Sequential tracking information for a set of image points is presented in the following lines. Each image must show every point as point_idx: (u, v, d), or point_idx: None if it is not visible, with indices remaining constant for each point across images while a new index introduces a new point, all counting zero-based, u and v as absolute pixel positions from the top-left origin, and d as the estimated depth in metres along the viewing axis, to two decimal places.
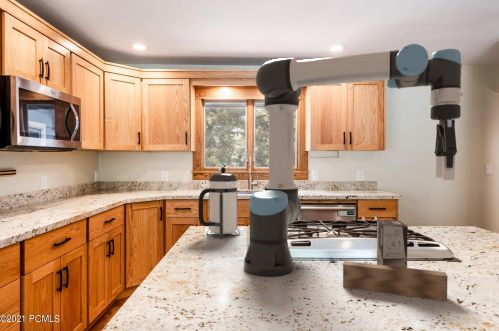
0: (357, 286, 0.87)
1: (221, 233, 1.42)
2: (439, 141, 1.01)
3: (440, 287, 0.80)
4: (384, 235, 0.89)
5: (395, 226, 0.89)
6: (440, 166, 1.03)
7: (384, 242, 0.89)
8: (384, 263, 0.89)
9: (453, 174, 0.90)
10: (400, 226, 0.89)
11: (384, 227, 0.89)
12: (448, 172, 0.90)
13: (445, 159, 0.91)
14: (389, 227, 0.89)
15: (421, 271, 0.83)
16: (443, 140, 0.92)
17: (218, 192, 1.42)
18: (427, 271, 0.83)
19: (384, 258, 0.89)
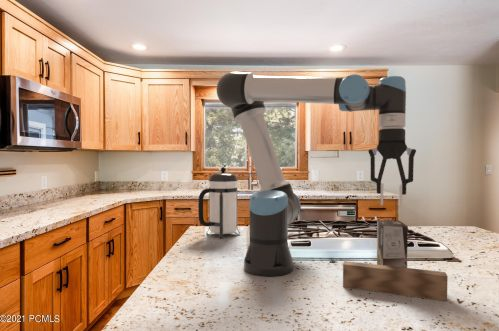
0: (357, 286, 0.87)
1: (221, 233, 1.42)
2: (397, 164, 1.02)
3: (440, 287, 0.80)
4: (384, 235, 0.89)
5: (395, 226, 0.89)
6: None
7: (384, 242, 0.89)
8: (384, 263, 0.89)
9: None
10: (400, 226, 0.89)
11: (384, 227, 0.89)
12: None
13: None
14: (389, 227, 0.89)
15: (421, 271, 0.83)
16: None
17: (218, 192, 1.42)
18: (427, 271, 0.83)
19: (384, 258, 0.89)
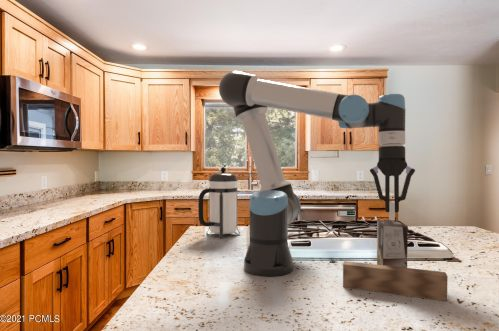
0: (357, 286, 0.87)
1: (221, 233, 1.42)
2: None
3: (440, 287, 0.80)
4: (384, 235, 0.89)
5: (395, 226, 0.89)
6: None
7: (384, 242, 0.89)
8: (384, 263, 0.89)
9: (389, 218, 1.02)
10: (400, 226, 0.89)
11: (384, 227, 0.89)
12: None
13: None
14: (389, 227, 0.89)
15: (421, 271, 0.83)
16: None
17: (218, 192, 1.42)
18: (427, 271, 0.83)
19: (384, 258, 0.89)
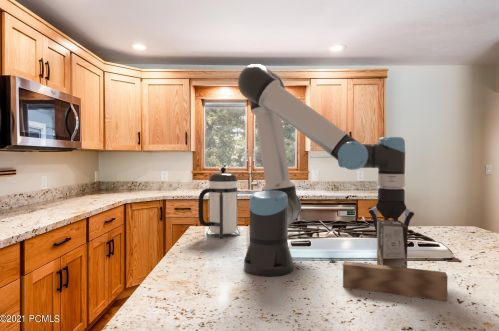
0: (357, 286, 0.87)
1: (221, 233, 1.42)
2: None
3: (440, 287, 0.80)
4: (384, 235, 0.89)
5: (395, 226, 0.89)
6: None
7: (384, 242, 0.89)
8: (384, 263, 0.89)
9: None
10: (400, 226, 0.89)
11: (384, 227, 0.89)
12: None
13: None
14: (389, 227, 0.89)
15: (421, 271, 0.83)
16: None
17: (218, 192, 1.42)
18: (427, 271, 0.83)
19: (384, 258, 0.89)
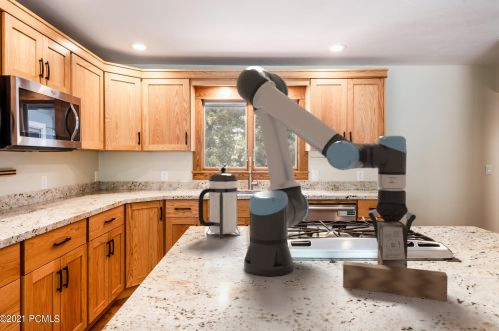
0: (357, 286, 0.87)
1: (221, 233, 1.42)
2: None
3: (440, 287, 0.80)
4: (384, 236, 0.88)
5: (395, 227, 0.88)
6: None
7: (384, 243, 0.88)
8: (383, 264, 0.88)
9: None
10: (400, 227, 0.87)
11: (384, 228, 0.88)
12: None
13: None
14: (389, 228, 0.88)
15: (421, 271, 0.83)
16: None
17: (218, 192, 1.42)
18: (427, 271, 0.83)
19: (383, 259, 0.88)
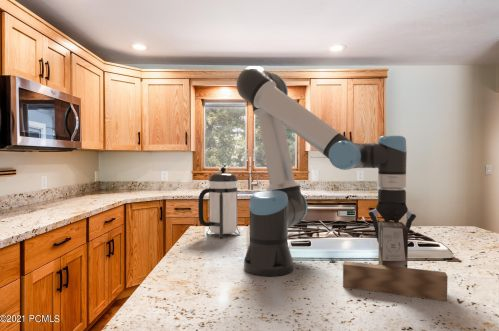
0: (357, 286, 0.87)
1: (221, 233, 1.42)
2: None
3: (440, 287, 0.80)
4: (383, 237, 0.87)
5: (395, 228, 0.87)
6: None
7: (383, 244, 0.87)
8: None
9: None
10: (400, 228, 0.87)
11: (383, 228, 0.87)
12: None
13: None
14: (389, 229, 0.87)
15: (421, 271, 0.83)
16: None
17: (218, 192, 1.42)
18: (427, 271, 0.83)
19: (383, 260, 0.87)
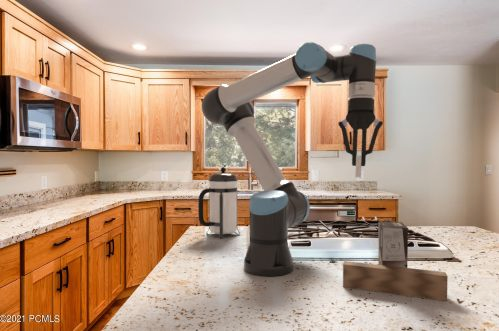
0: (357, 286, 0.87)
1: (221, 233, 1.42)
2: None
3: (440, 287, 0.80)
4: (383, 237, 0.87)
5: (395, 228, 0.87)
6: None
7: (383, 244, 0.87)
8: None
9: None
10: (400, 228, 0.87)
11: (383, 228, 0.87)
12: None
13: None
14: (389, 229, 0.87)
15: (421, 271, 0.83)
16: None
17: (218, 192, 1.42)
18: (427, 271, 0.83)
19: (383, 260, 0.87)
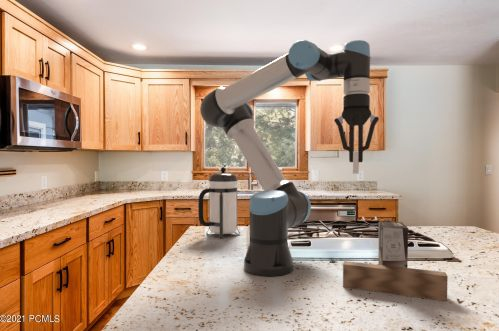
0: (357, 286, 0.87)
1: (221, 233, 1.42)
2: None
3: (440, 287, 0.80)
4: (384, 237, 0.87)
5: (395, 228, 0.87)
6: None
7: (384, 244, 0.87)
8: None
9: (353, 168, 1.00)
10: (400, 228, 0.87)
11: (384, 228, 0.87)
12: None
13: None
14: (389, 229, 0.87)
15: (421, 271, 0.83)
16: None
17: (218, 192, 1.42)
18: (427, 271, 0.83)
19: (383, 260, 0.87)
